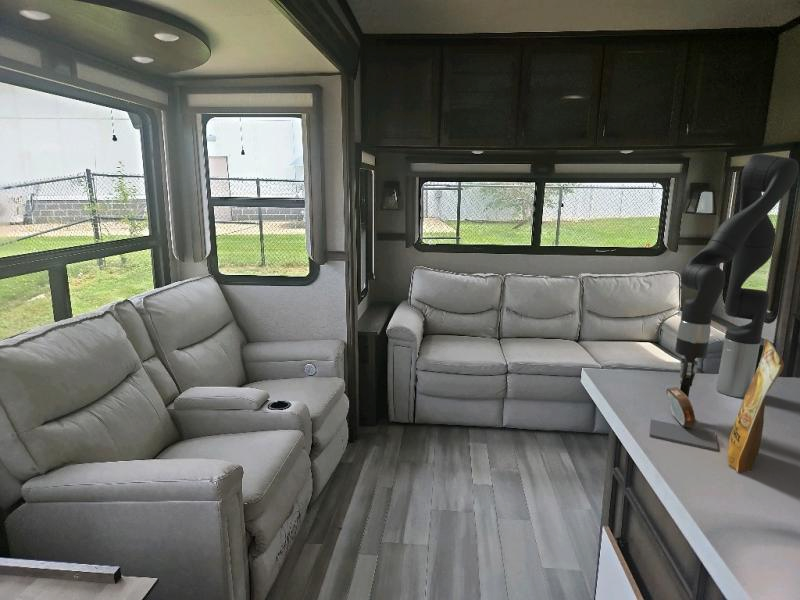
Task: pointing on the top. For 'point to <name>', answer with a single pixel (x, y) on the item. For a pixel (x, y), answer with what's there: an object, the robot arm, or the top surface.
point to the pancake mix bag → (753, 412)
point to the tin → (680, 407)
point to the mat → (683, 435)
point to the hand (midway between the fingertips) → (683, 397)
